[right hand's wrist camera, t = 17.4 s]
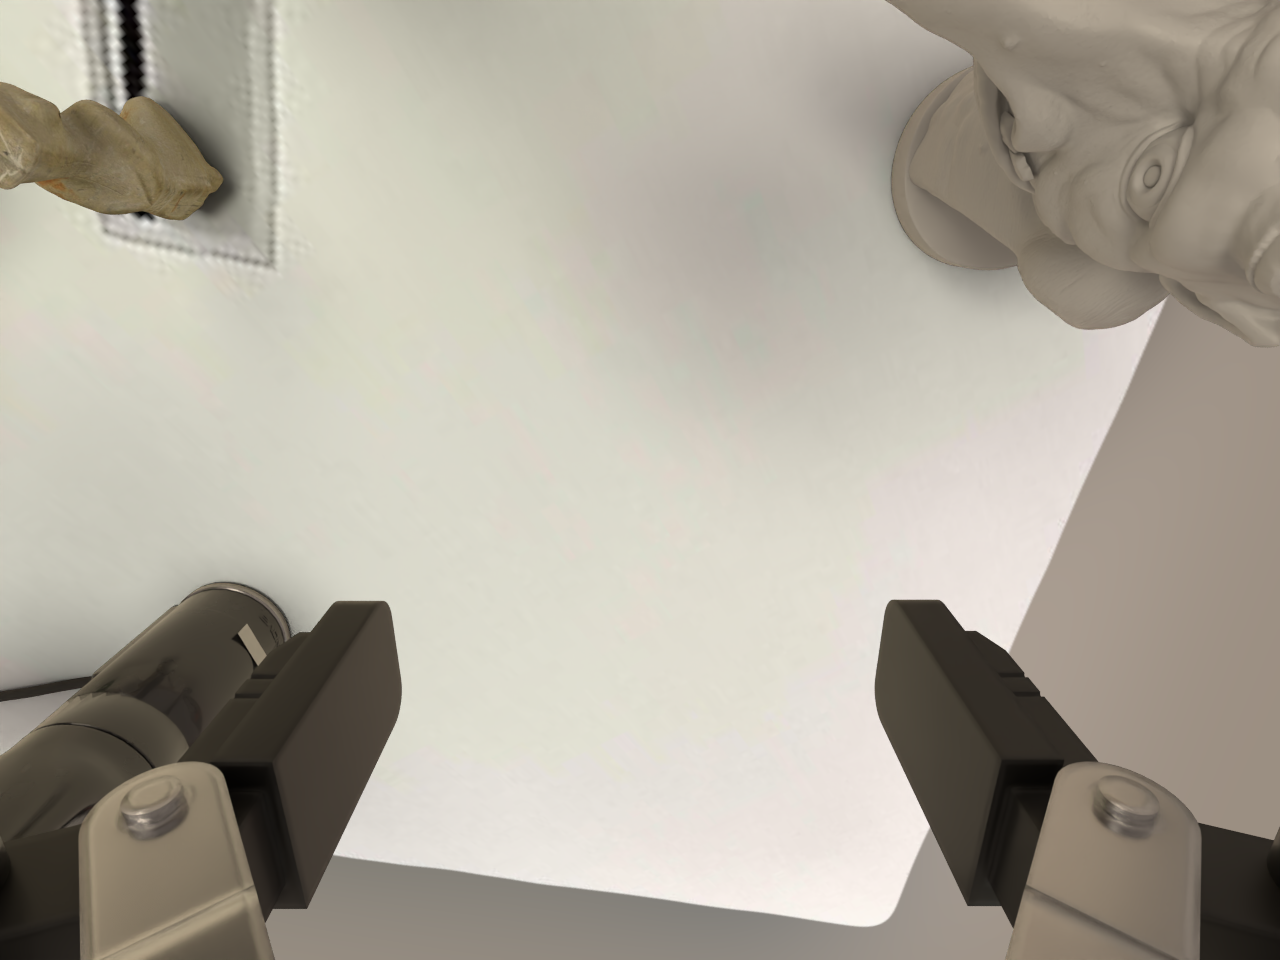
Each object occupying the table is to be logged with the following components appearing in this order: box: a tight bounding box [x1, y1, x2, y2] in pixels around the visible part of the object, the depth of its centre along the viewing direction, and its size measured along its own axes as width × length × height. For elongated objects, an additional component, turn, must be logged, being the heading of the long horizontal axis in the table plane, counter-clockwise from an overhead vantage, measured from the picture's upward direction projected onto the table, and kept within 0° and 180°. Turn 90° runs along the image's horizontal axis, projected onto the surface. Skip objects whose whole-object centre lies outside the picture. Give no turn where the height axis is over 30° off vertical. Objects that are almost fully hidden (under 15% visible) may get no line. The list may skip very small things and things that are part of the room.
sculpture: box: [0, 82, 223, 220], centre depth 40 cm, size 6×7×15 cm
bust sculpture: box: [886, 0, 1280, 347], centre depth 30 cm, size 16×24×35 cm
